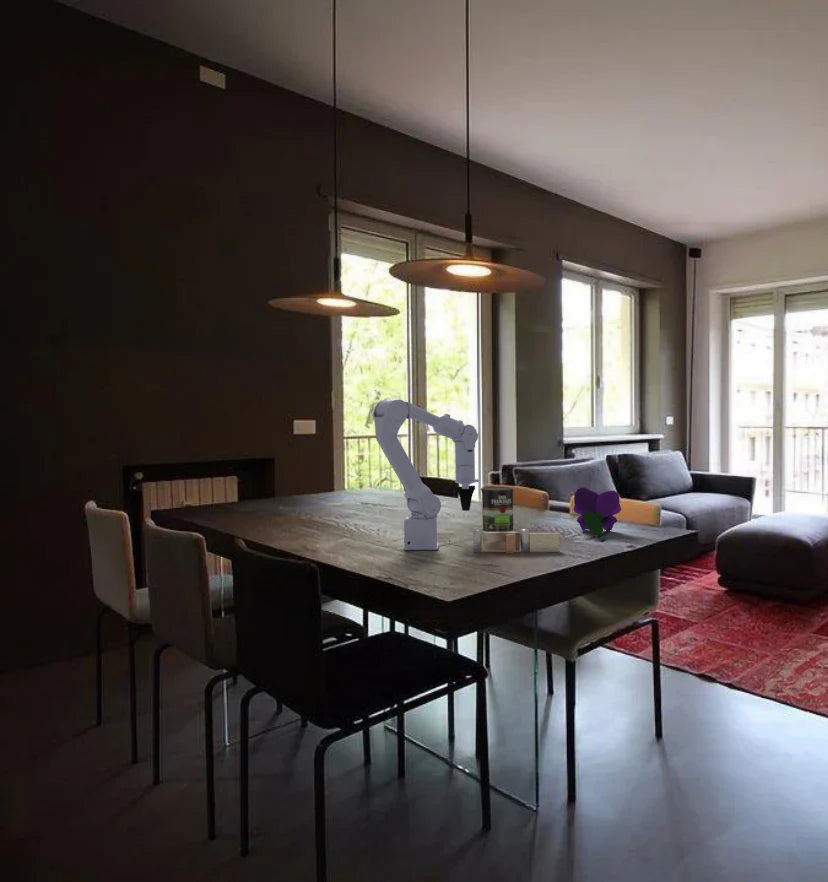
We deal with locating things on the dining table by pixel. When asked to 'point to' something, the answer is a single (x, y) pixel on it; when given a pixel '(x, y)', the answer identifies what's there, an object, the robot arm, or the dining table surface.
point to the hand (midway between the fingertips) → (466, 510)
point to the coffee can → (497, 509)
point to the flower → (596, 510)
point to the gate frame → (524, 541)
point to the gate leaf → (499, 541)
